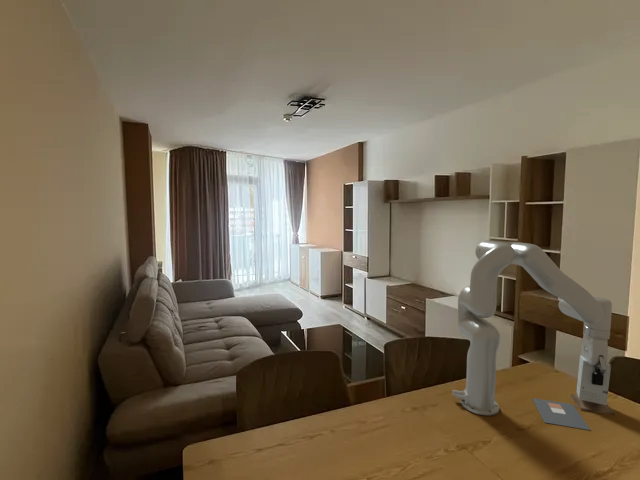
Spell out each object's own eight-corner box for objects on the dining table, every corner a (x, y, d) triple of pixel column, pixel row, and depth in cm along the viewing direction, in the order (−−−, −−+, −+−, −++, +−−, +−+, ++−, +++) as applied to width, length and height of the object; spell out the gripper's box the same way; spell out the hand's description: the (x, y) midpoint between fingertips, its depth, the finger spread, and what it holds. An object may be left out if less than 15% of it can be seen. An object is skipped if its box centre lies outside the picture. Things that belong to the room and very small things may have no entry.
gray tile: (544, 422, 117) (544, 422, 117) (532, 398, 132) (532, 398, 132) (590, 430, 113) (590, 429, 113) (572, 404, 128) (572, 404, 128)
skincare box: (579, 400, 127) (581, 360, 125) (576, 392, 132) (578, 354, 131) (608, 406, 123) (611, 365, 122) (603, 398, 128) (606, 358, 127)
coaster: (580, 409, 125) (580, 407, 124) (570, 395, 134) (570, 393, 134) (614, 415, 121) (614, 413, 121) (601, 400, 131) (601, 398, 131)
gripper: (575, 323, 135) (572, 368, 136) (594, 339, 118) (590, 389, 120) (598, 325, 132) (595, 371, 134) (621, 341, 116) (617, 393, 118)
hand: (592, 379), depth 127 cm, fingers closed on skincare box, 6 cm apart
